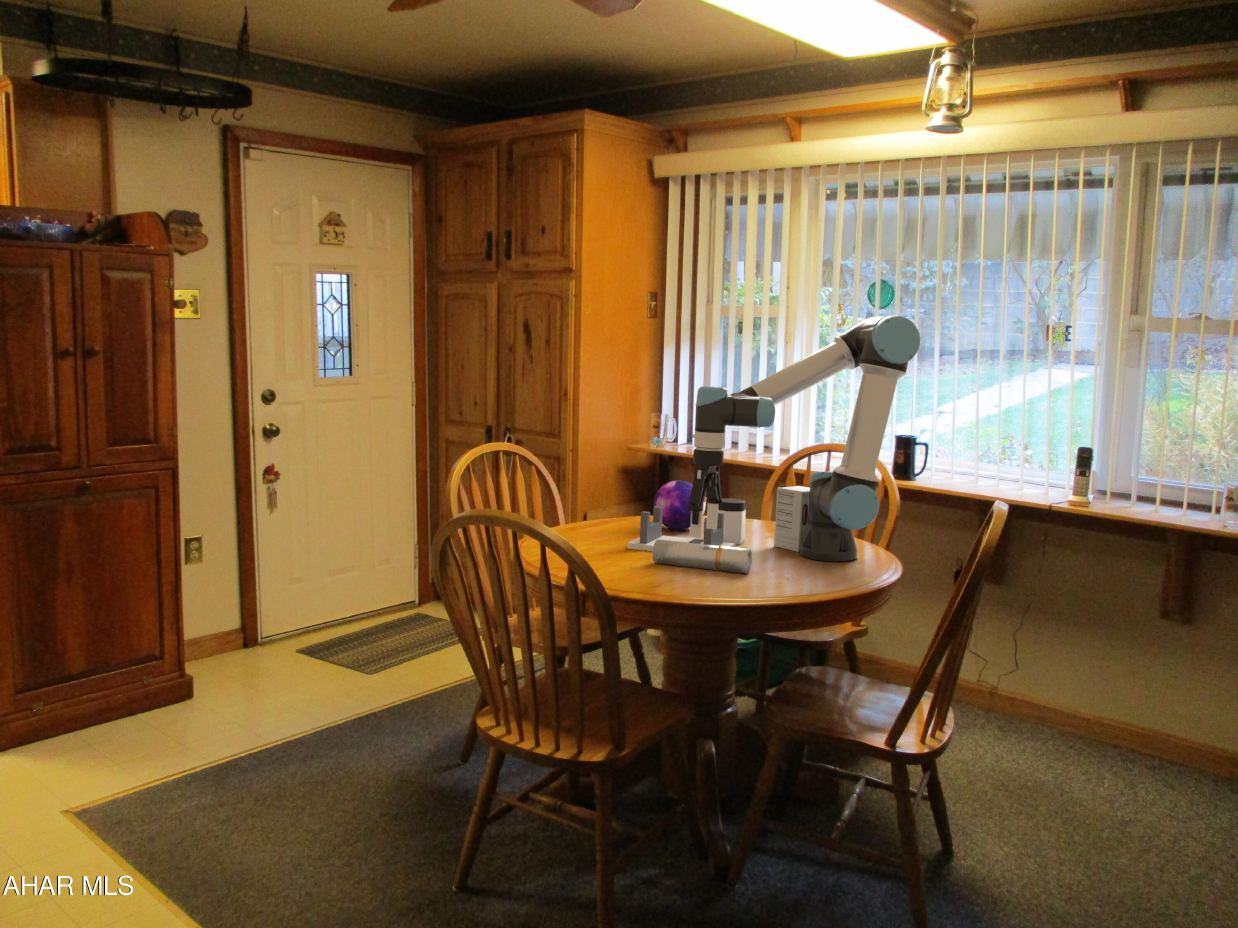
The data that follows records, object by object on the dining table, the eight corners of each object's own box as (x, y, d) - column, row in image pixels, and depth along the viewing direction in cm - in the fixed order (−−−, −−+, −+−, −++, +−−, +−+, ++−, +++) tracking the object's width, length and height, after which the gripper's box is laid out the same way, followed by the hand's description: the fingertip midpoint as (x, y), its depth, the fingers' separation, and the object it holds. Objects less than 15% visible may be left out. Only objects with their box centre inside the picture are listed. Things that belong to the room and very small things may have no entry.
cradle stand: (734, 548, 265) (736, 512, 264) (719, 558, 251) (721, 521, 250) (646, 538, 275) (647, 504, 273) (627, 548, 261) (628, 512, 260)
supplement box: (798, 552, 263) (801, 491, 260) (772, 546, 270) (775, 487, 268) (820, 548, 269) (824, 489, 267) (795, 542, 276) (798, 484, 274)
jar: (750, 543, 273) (752, 501, 272) (730, 546, 268) (732, 503, 267) (728, 537, 280) (729, 497, 279) (708, 540, 275) (709, 499, 274)
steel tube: (753, 559, 239) (749, 543, 235) (747, 578, 235) (744, 563, 231) (662, 549, 248) (657, 534, 244) (655, 567, 244) (650, 552, 240)
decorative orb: (646, 525, 295) (647, 477, 294) (691, 524, 300) (693, 476, 298) (662, 535, 281) (664, 484, 279) (710, 533, 286) (712, 483, 284)
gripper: (708, 444, 251) (704, 523, 254) (678, 451, 228) (673, 539, 231) (736, 446, 248) (731, 527, 251) (708, 454, 225) (703, 542, 228)
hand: (703, 533), depth 241 cm, fingers open, 13 cm apart
